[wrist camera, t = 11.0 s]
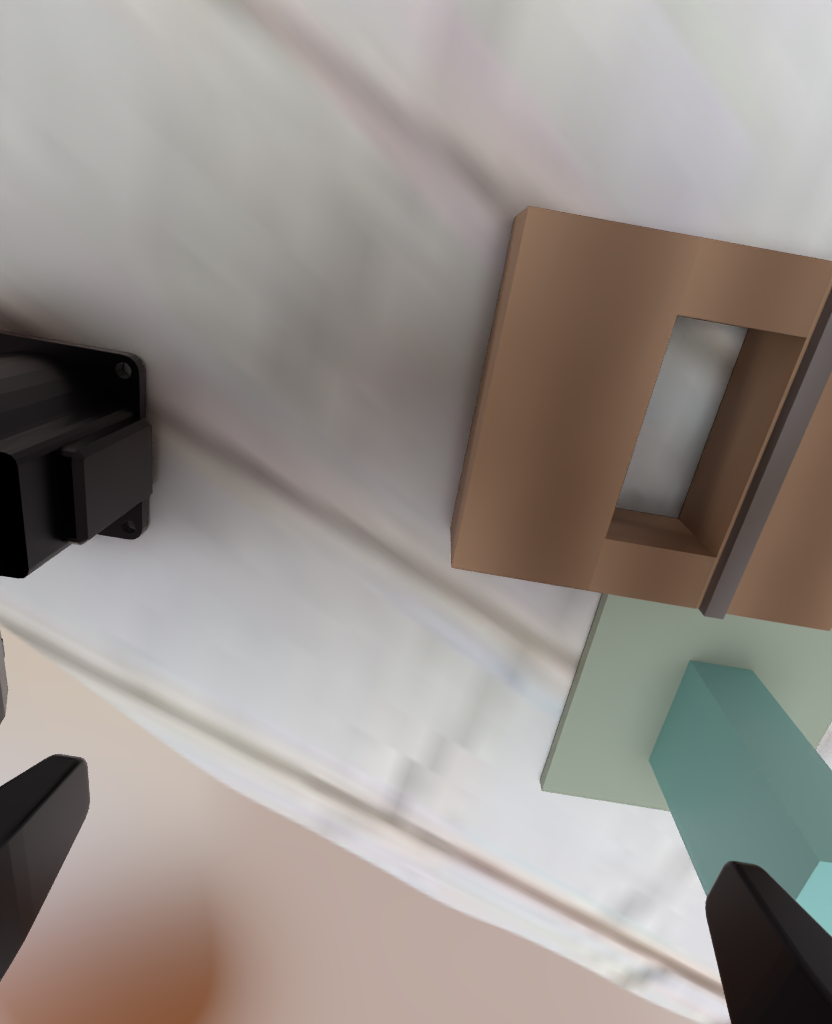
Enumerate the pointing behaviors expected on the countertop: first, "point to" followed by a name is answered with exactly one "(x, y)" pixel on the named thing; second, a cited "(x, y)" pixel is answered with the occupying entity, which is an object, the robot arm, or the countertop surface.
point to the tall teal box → (746, 785)
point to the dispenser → (621, 410)
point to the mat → (670, 690)
